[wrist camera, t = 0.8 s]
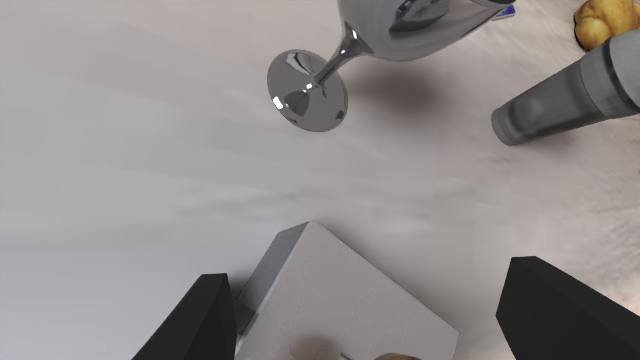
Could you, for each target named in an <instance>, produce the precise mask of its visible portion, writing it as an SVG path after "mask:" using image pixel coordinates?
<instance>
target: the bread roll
mask: <svg viewBox="0 0 640 360" xmlns="http://www.w3.org/2000/svg"><path fill="white" fill-rule="evenodd" d="M575 19H576V24H577V25H576V28H575V33H576V36H577V38H578V40H579V42H580V43H581V44H582V46H583V47H585V48H586V49H588V50H592V49H594V48H595V47H597V46H598V45H600V44H602V43H604V41H605V40H606V39H607V38H609V37H612V36H617V35H619V34H621V33H624V32H627V31H630V30H634V29H639V28H640V4H638V3H637V4H634V3H633V0H588V1H586V2H585V3H584V4H583V5H581V7H580V8H579V9H578V10H577V12H576V14H575Z"/></svg>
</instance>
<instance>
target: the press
mask: <svg viewBox="0 0 640 360" xmlns="http://www.w3.org/2000/svg"><path fill="white" fill-rule="evenodd" d="M231 299H232V305H233V310H234V316H235V321H236V327H237V340H236V349H235V358H234V360H338V359H339V357H340V355H341V353H342V354H343V355H345V356H346V357H348V358H349V359H351V360H374V359H376V358H377V357H379V356H380V355H383V354H386V353H400V354H404V355H408V356H413V357H417V358H419V359H421V360H453V356H454V353H455V349H456V345H457V341H458V338H459V334H460V333H459V332H458V331H457V330H455V329H454V328H453V327H452V326H450V325H449V324H448V323H446V322H445V321H444V320H443V319H441V318H440V317H439V316H437V315H436V314H435V313H434V312H432V311H431V310H430V309H428V308H427V307H426V306H425V305H423V304H422V303H421V302H419V301H418V300H417V299H415V298H414V297H413V296H412V295H410V294H409V293H408V292H406V291H405V290H404V289H403V288H401V287H400V286H399V285H397V284H396V283H395V282H394V281H392V280H391V279H390V278H388V277H387V276H386V275H385V274H383V273H382V272H381V271H379V270H378V269H377V268H375V267H374V266H373V265H372V264H370V263H369V262H368V261H366V260H365V259H364V258H363V257H361V256H360V255H359V254H357V253H356V252H355V251H354V250H352V249H351V248H350V247H348V246H347V245H346V244H345V243H343V242H342V241H341V240H339V239H338V238H337V237H335V236H334V235H333V234H332V233H330V232H329V231H328V230H326V229H325V228H324V227H323V226H321V225H320V224H319V223H317V222H316V221H315V220H312V221H309V222H306V223H304V224H301V225H298V226H295V227H293V228H290V229H287V230H284V231H282V232H279V233H278V234H277V236H276V237H275V239H274V241H273V242H272V244H271V245H270V247H269V249H268V250H267V252H266V253H265V255H264V257H263V258H262V260H261V261H260V263H259V265H258V266H257V268H256V269H255V271H254V273H253V274H252V276H251V277H250V279H249V281H248V282H247V284H246V285H245V287H244V289H243V290H242V292H241V293H240V295H239V297H238V298H237V299H235V298H234V297H232V296H231Z"/></svg>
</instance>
